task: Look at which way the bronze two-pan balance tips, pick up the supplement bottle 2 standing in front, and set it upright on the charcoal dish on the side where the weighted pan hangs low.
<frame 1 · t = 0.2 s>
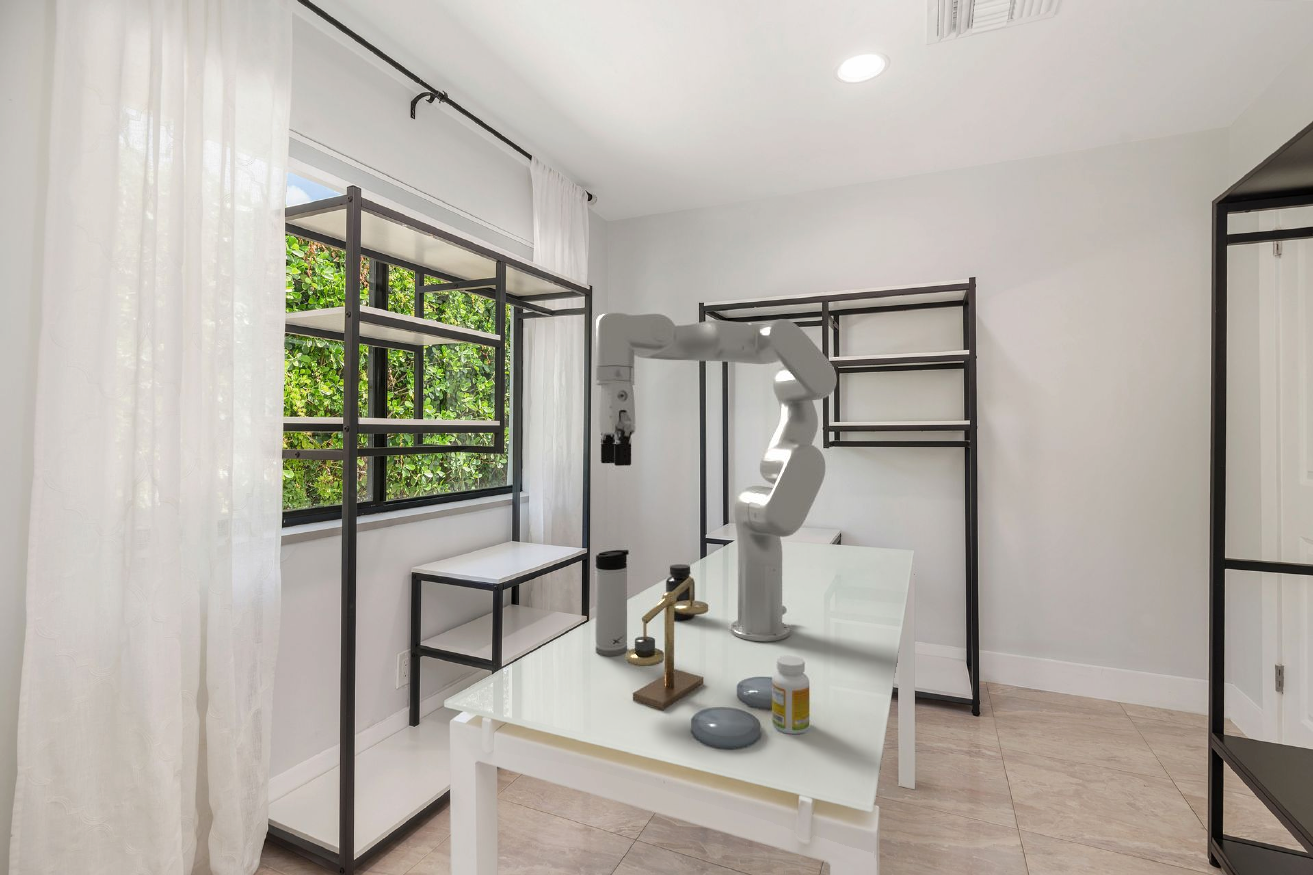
hand: (615, 464, 117), 37 cm above the table, tool pointing down, fingers open, 9 cm apart
supplement bottle: (680, 617, 140), on the table
supplement bottle 2: (790, 727, 87), on the table
balance: (669, 691, 99), on the table
dish high side: (767, 696, 97), on the table
dish low side: (725, 730, 86), on the table
travel mug: (612, 651, 118), on the table
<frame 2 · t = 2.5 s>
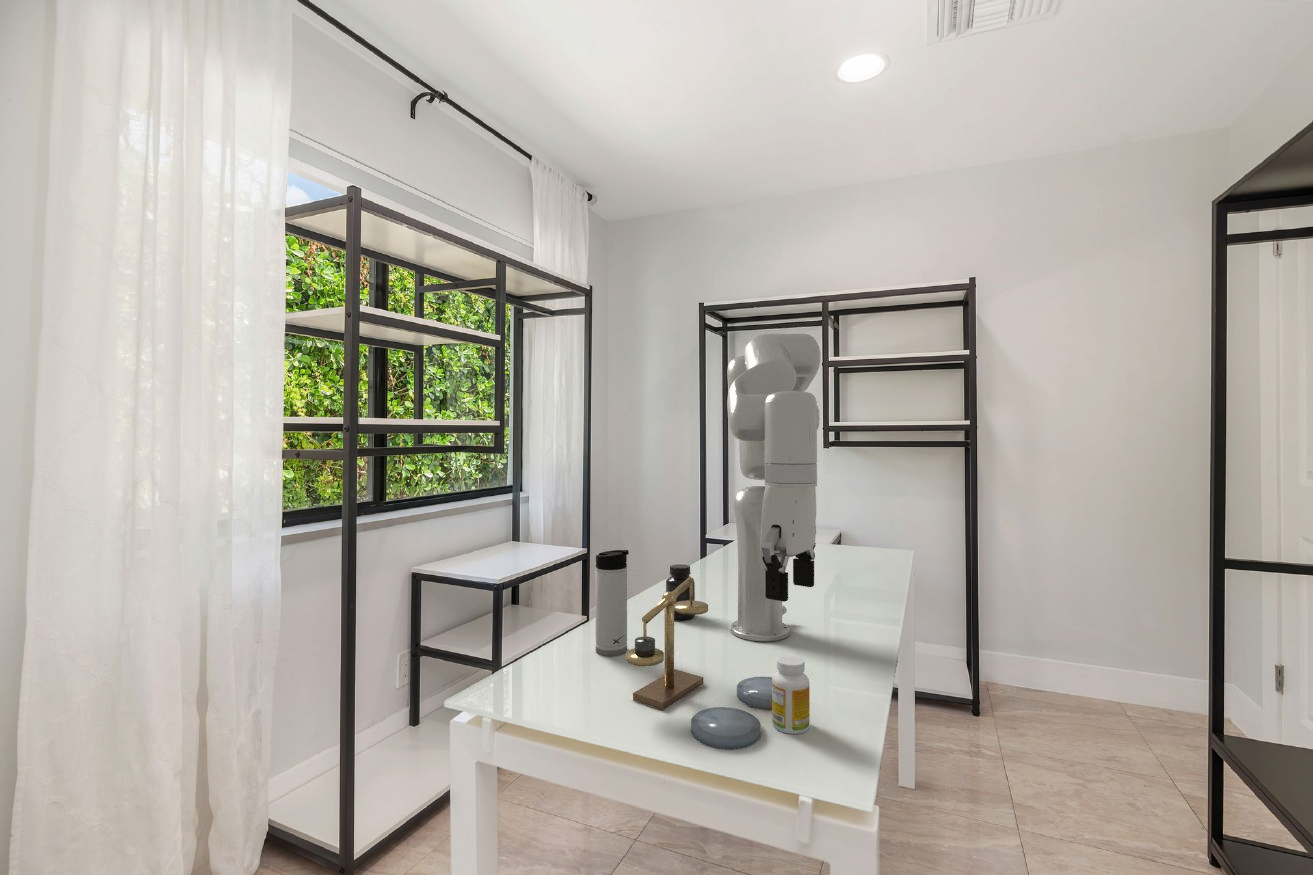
hand: (790, 592, 87), 20 cm above the table, tool pointing down, fingers open, 9 cm apart
nothing on the table moved.
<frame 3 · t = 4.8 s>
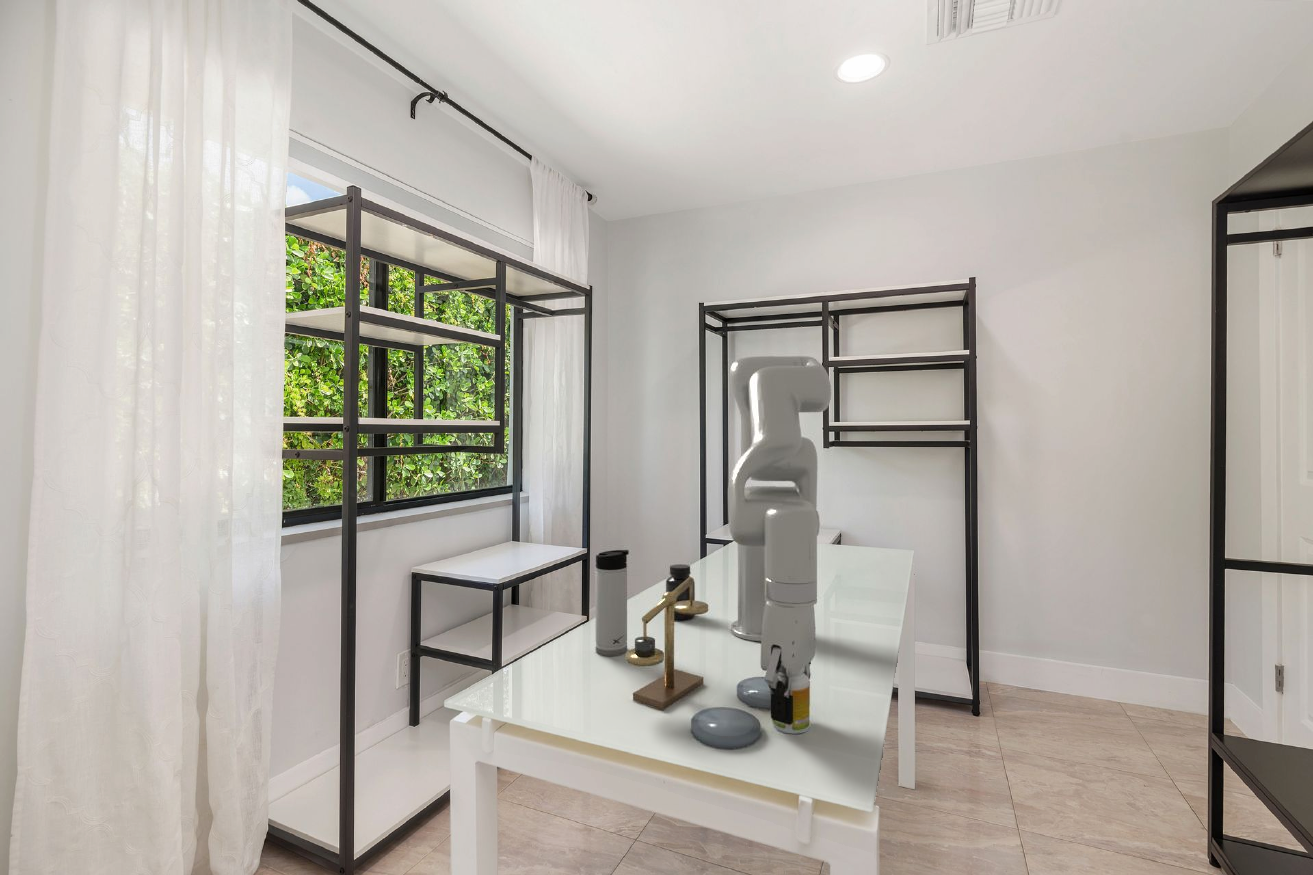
hand: (790, 711, 87), 2 cm above the table, tool pointing down, fingers closed on supplement bottle 2, 5 cm apart
supplement bottle 2: (790, 726, 87), on the table, touching gripper
everything else where it was.
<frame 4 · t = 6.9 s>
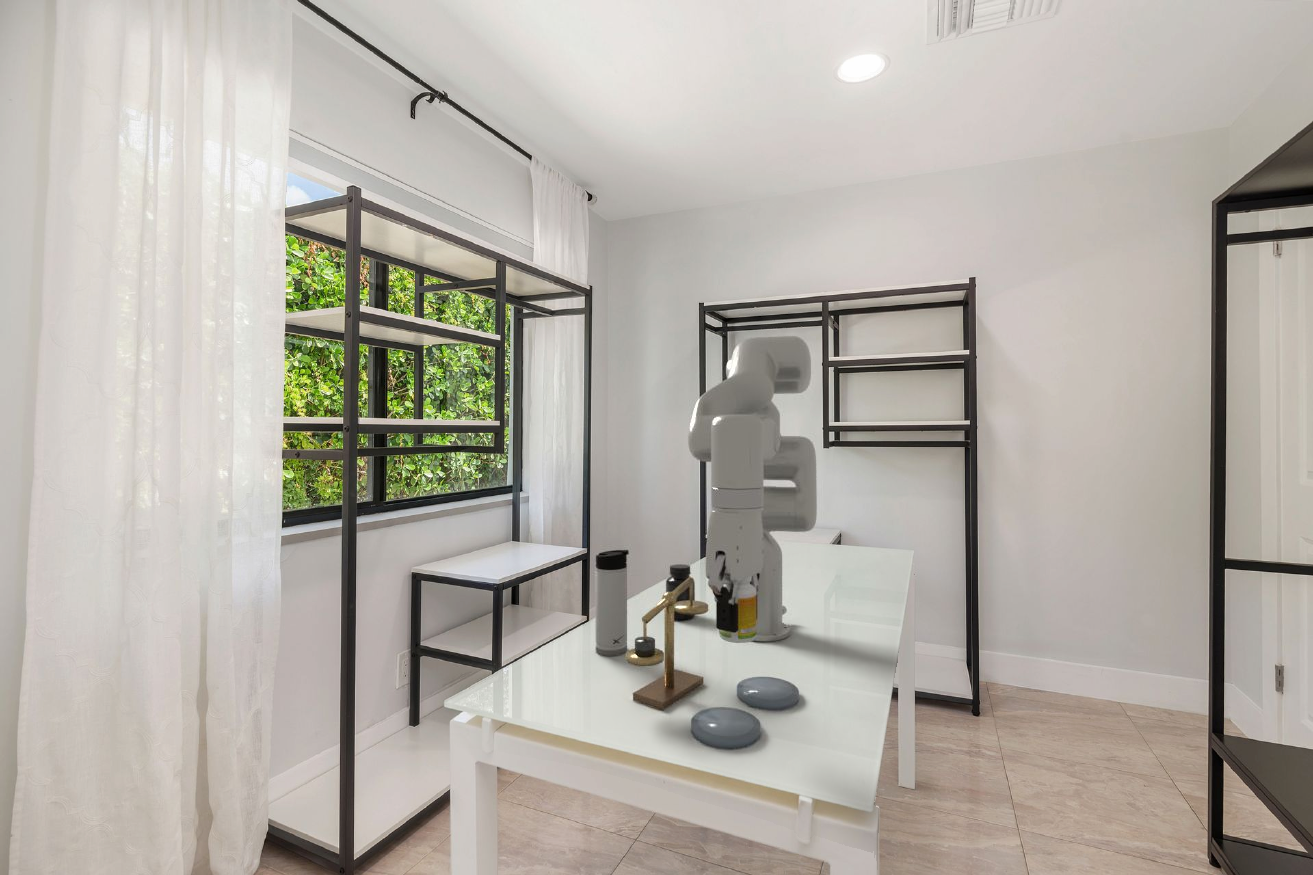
hand: (737, 623, 86), 16 cm above the table, tool pointing down, fingers closed on supplement bottle 2, 5 cm apart
supplement bottle 2: (737, 638, 86), point 13 cm above the table, touching gripper
everything else where it was.
when the fingers open (4 cm above the table, at t = 9.5 s): supplement bottle 2 stays where it is, resting on dish low side.
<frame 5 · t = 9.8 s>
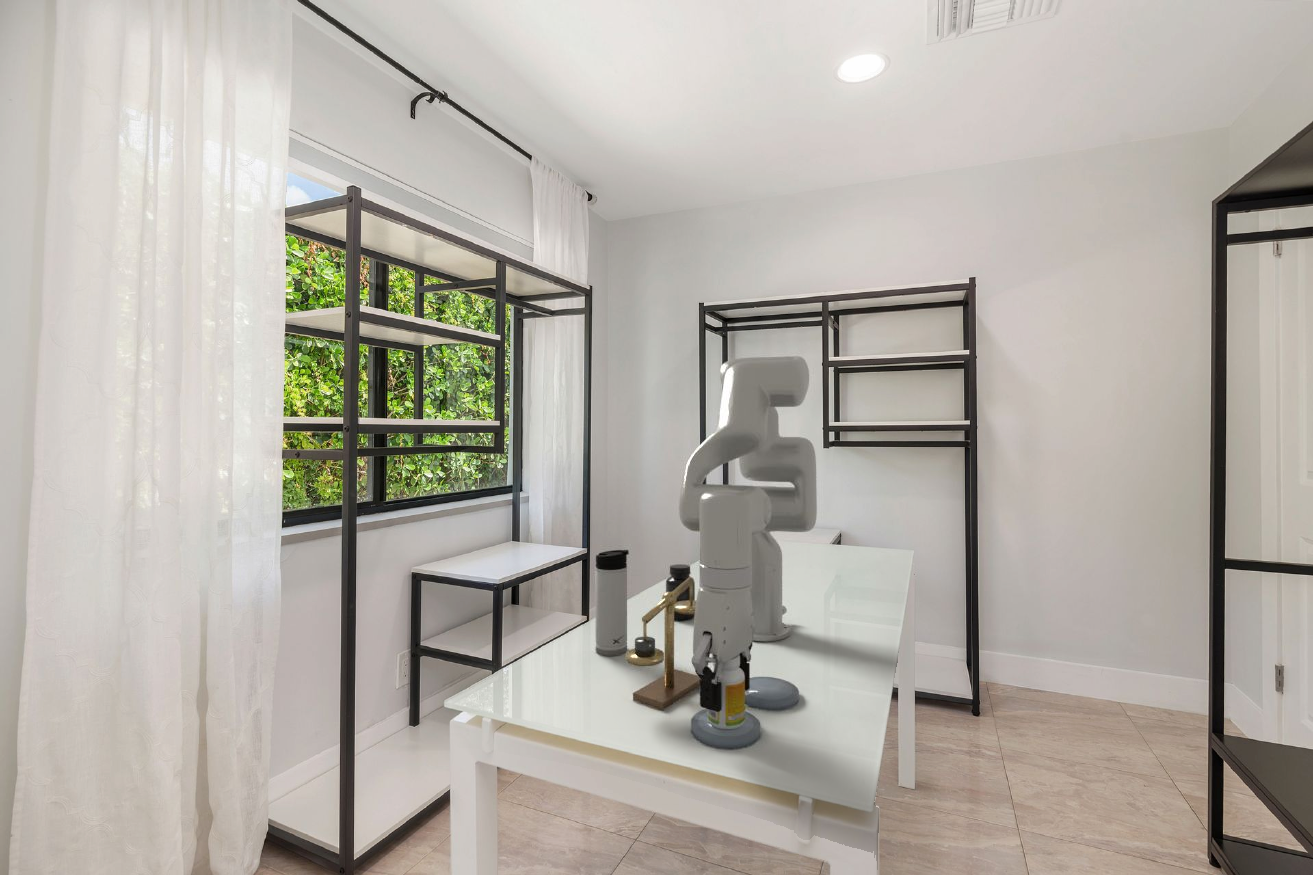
hand: (725, 697, 86), 5 cm above the table, tool pointing down, fingers open, 7 cm apart
supplement bottle 2: (726, 722, 86), point 1 cm above the table, touching dish low side
everything else where it was.
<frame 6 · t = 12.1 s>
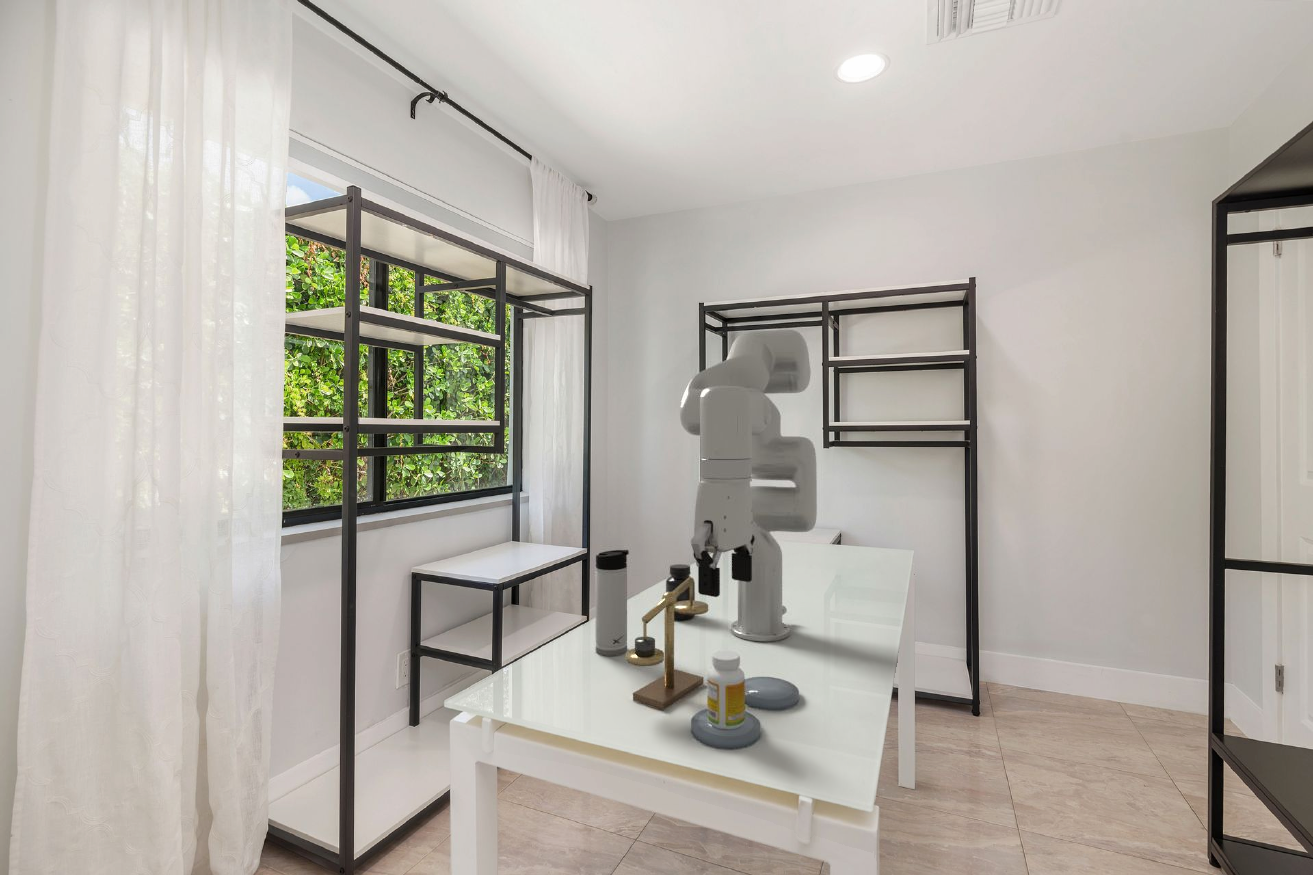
hand: (726, 587, 87), 20 cm above the table, tool pointing down, fingers open, 9 cm apart
nothing on the table moved.
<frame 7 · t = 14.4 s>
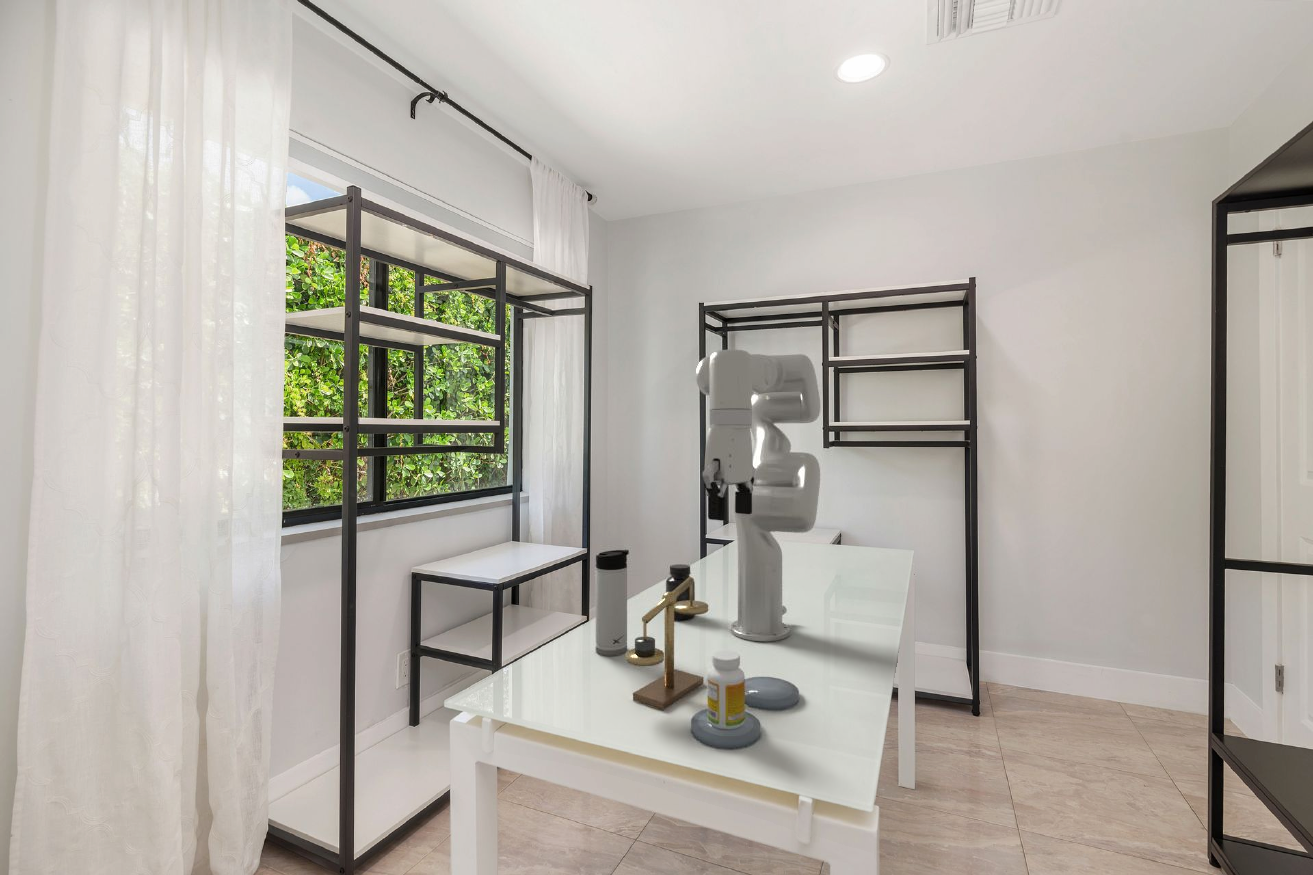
hand: (730, 516, 106), 28 cm above the table, tool pointing down, fingers open, 9 cm apart
nothing on the table moved.
at the end: supplement bottle 2 0.2 cm off-centre on the dish low side, point 1.1 cm above the dish low side's base; supplement bottle 2 tilted 0°; the gripper is holding nothing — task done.
